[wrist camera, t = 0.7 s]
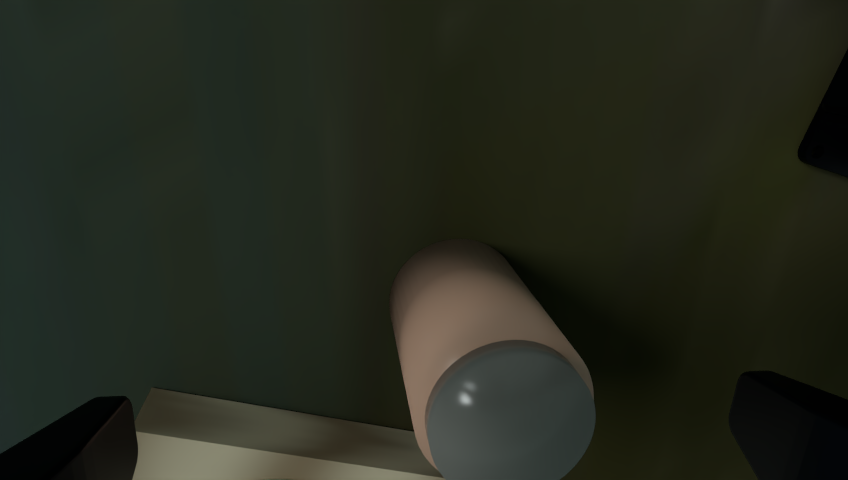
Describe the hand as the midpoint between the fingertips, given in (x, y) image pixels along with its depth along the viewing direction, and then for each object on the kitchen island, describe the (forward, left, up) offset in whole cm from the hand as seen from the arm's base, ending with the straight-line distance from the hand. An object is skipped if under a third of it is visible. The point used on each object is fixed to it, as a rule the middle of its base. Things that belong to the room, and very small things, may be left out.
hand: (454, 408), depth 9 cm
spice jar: (-4, +4, -13) cm, 14 cm away
